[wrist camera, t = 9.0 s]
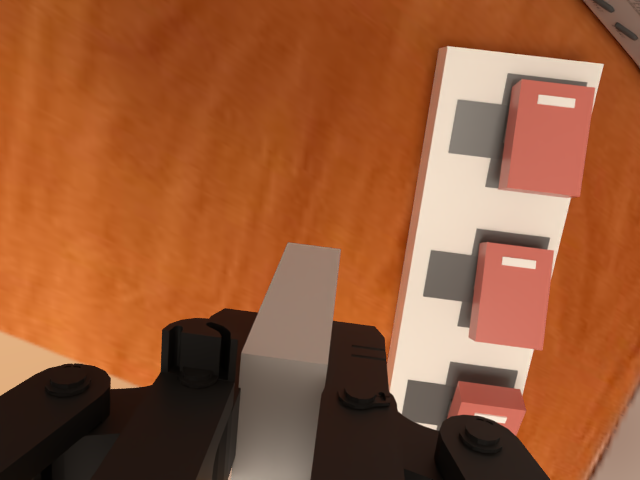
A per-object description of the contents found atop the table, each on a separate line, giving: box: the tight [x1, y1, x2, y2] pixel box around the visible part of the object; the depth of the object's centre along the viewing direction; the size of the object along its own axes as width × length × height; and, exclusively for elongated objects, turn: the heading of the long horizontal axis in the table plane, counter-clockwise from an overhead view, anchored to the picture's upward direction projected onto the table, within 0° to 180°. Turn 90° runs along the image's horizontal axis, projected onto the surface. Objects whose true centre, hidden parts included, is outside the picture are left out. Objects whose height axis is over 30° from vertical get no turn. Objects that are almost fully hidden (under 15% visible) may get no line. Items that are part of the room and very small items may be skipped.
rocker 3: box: [447, 381, 526, 436], centre depth 38 cm, size 6×4×2 cm, turn 172°
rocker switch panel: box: [387, 46, 604, 431], centre depth 39 cm, size 28×9×5 cm, turn 174°
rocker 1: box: [498, 79, 595, 198], centre depth 32 cm, size 6×4×2 cm, turn 175°
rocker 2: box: [468, 242, 554, 350], centre depth 35 cm, size 6×4×2 cm, turn 175°
